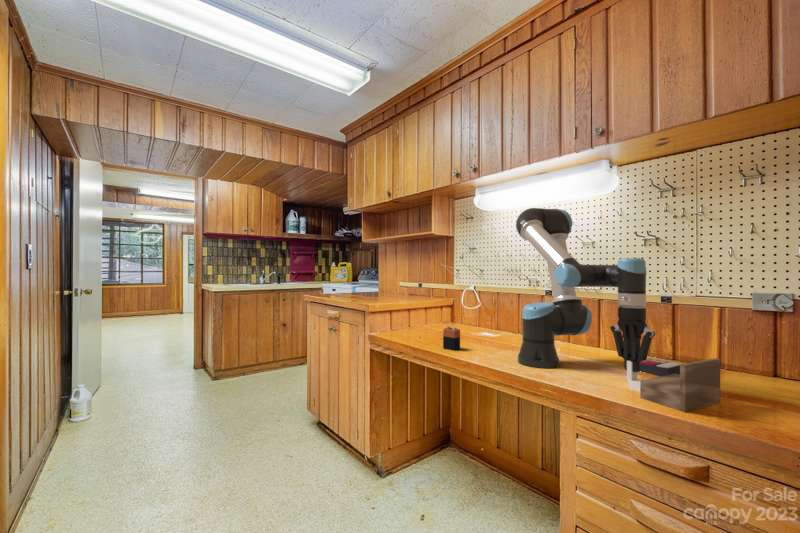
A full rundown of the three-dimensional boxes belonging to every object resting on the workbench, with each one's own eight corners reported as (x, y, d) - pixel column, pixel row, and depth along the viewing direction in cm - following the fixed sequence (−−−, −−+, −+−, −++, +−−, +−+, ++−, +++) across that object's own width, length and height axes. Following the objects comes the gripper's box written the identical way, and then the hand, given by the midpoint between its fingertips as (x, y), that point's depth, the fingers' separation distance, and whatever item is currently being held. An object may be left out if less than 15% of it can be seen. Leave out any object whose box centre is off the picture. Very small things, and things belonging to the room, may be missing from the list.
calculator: (639, 355, 139) (684, 362, 126) (639, 366, 139) (685, 374, 125) (623, 358, 133) (669, 366, 120) (623, 370, 133) (669, 379, 120)
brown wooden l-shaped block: (640, 397, 102) (640, 355, 102) (675, 389, 109) (675, 350, 109) (685, 412, 92) (685, 365, 92) (720, 402, 99) (720, 359, 99)
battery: (448, 347, 166) (448, 325, 166) (460, 349, 162) (460, 327, 162) (442, 348, 163) (442, 326, 163) (455, 350, 158) (455, 328, 158)
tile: (628, 389, 110) (628, 380, 110) (641, 386, 113) (642, 377, 113) (655, 397, 103) (655, 388, 103) (669, 394, 106) (669, 385, 106)
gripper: (604, 305, 117) (604, 377, 117) (645, 309, 105) (646, 389, 105) (619, 304, 120) (619, 374, 120) (661, 308, 108) (661, 386, 108)
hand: (631, 381), depth 112 cm, fingers closed
